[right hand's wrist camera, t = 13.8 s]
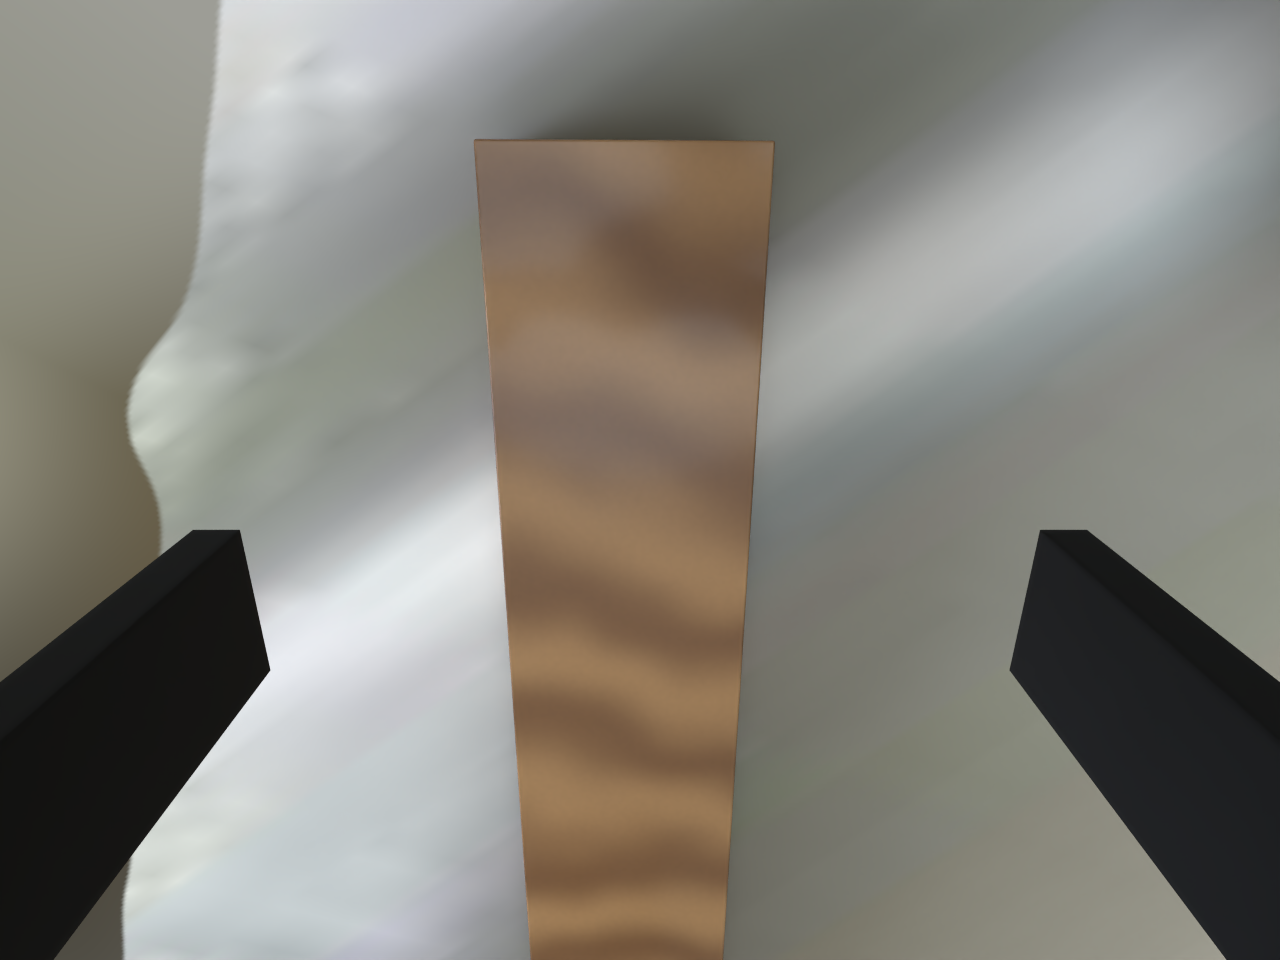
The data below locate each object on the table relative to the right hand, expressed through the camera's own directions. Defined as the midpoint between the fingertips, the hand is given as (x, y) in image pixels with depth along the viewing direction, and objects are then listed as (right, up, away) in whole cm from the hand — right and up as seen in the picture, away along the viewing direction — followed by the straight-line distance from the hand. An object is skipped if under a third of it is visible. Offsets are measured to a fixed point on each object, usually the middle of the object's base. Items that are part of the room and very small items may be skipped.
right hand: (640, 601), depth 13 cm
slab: (-1, -24, +32) cm, 40 cm away
